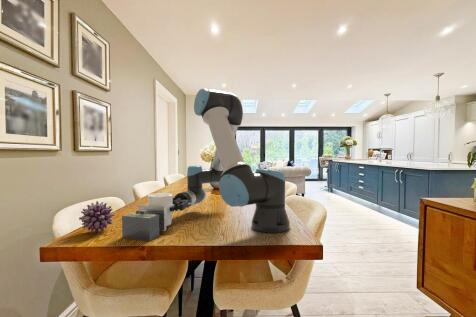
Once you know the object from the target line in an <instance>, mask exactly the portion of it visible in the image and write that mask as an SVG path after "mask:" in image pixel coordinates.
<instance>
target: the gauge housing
mask: <svg viewBox="0 0 476 317" xmlns="http://www.w3.org/2000/svg"><path fill="white" fill-rule="evenodd" d="M121 233H122V234H121V238H123V239H129V240H130V239H131V240H138V241H146V242H151V241H153V240H155V239H157V238H159V237H160V231H159V215H153V214H136V212H131V213H127V214H124V215H122V216H121Z"/></svg>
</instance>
